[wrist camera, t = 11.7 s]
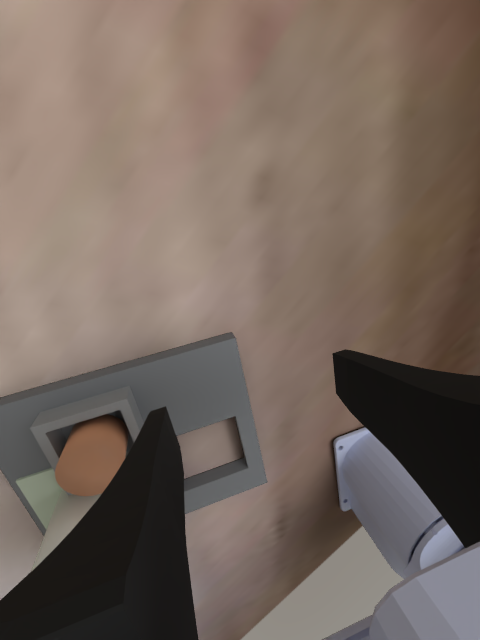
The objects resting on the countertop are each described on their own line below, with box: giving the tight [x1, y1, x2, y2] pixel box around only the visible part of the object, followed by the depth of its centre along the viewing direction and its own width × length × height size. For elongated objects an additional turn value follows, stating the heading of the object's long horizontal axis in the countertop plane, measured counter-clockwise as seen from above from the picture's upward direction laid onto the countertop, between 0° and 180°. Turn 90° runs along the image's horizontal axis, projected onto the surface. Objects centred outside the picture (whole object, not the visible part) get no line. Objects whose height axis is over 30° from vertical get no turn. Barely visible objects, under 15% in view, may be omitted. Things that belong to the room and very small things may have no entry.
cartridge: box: [31, 489, 102, 572], centre depth 19 cm, size 4×4×6 cm
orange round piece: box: [55, 414, 128, 496], centre depth 18 cm, size 4×4×3 cm
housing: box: [0, 332, 267, 536], centre depth 21 cm, size 14×17×3 cm
